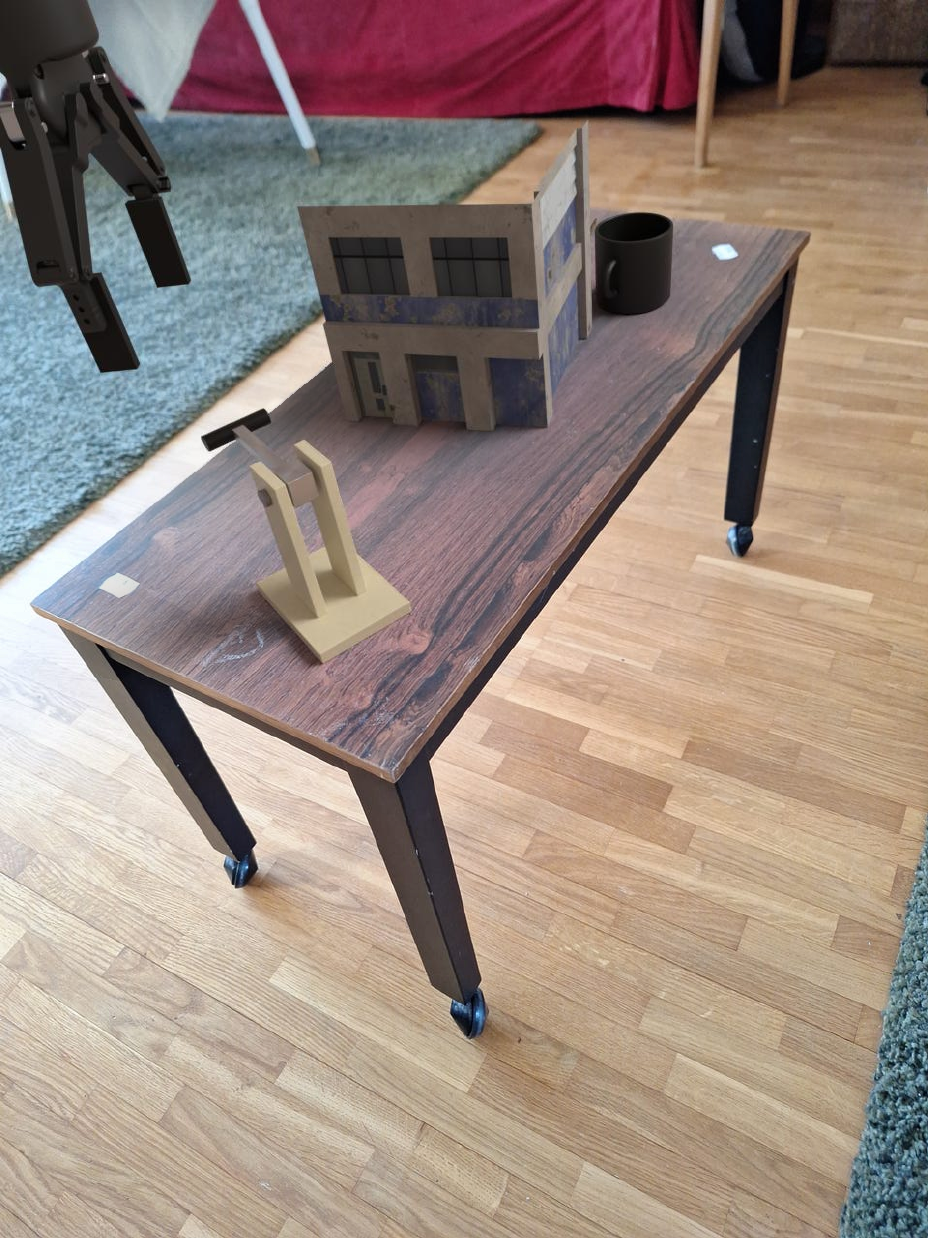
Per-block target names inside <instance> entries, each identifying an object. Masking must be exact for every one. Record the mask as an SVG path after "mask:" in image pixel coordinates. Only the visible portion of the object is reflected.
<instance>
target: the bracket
mask: <svg viewBox="0 0 928 1238" xmlns="http://www.w3.org/2000/svg"><path fill="white" fill-rule="evenodd" d="M293 447H294V450H295V453H296V456H297V457H296V458H297V459H298V460H299V461H300V462H302V463H303V464H304V465H305V466H306V467H307V468H309V469H310V470H311V471H312V472H313V476H314V479H315V482H316V486H317V489H318V492H319V497H317V498H316V499H314V500H312V501H310V502H311V505H312V508H313V509H312V510H313V511H314V516H315V519H316V521H317V524H318V528H319V531H320V535H321V537H322V541H323V544H324V546H323V547H321V548H319V549H317V550H315V551H313V552H311V553H309V552H308V548H307V545H306V542H305V539H304V536H303V533H302V531H301V527H300V524H299V522H298V518H297V515H296V513H295V510H294V509H295V508H294V506H293V505H292V503H291V500H290V497H289V494H288V491H287V488H286V485H285V484H284V483H283V482H282V481H281V480H280V479H279V478H278V477H277V476H276V475H275V474H273V473H272V472H271V471H270V470H269V469H268V468H267V467H266V466H265V465H264V464H262V463H261V462H260V461H257V462H255V463H252V464H250V465H248V466H249V470H250V474H251V475H252V479H253V481H254V484H255V487H256V490H257V497H258V499H259V500H260V502H261V504H262V507H263V509H264V512H265V515H266V517H267V521H268V524H269V526H270V530H271V532H272V534H273V535H272V536H273V537H274V541H275V543H276V546H277V548H278V551H279V554H280V557H281V560H282V563H283V565H284V567H283V568H281V569H279V570H277V571H275V572H274V573H271V574H270V575H268V576H266V577H265V578H262V579H261V580H259V581H257V582H256V583H255V584H256V587H257V590H258V592H259V593H260V595H261V596H262V597H263V598H264V599H265V600H266V602H267V603H268V604H269V605H270V606H271V607H272V608H273V609H274V610H275V612H276V614H278V615H279V617H281V619H282V620H283V621H284V622H285V623H286V624H287V625H288V627H290V629H291V630H292V631H293V632H294V633H295V634H296V635H297V636H298V638H299V639H300V640H301V641H302V642H303V643H304V644H305V646H306V647H307V648H308V649H309V650H310V651H311V652H312V653H313V655H314V656H315V657H316V659H318V661H320V662H321V664H323V665H324V664H325V663H327V662H329V661H330V660H333V659H334V658H335V657H337V656H339V655H341V654H342V653H344V652H346V651H348V650H349V649H351V648H352V647H354V646H356V645H358V644H360V643H361V642H363V641H364V640H366V639H368V638H370V637H372V636H373V635H375V634H376V633H378V632H380V631H381V630H383V629H385V628H386V627H389V626H390V625H391V624H393V623H395V622H396V621H399V620H401V619H402V618H404V617H405V616H407V615H408V614H410V613H412V607H411V601H409V600H408V599H407V598H406V597H405V596H403V594H401V592H400V591H398V589H396V588H395V587H394V586H393V585H392V584H391V583H390V582H388V580H386V579H385V578H384V577H383V576H382V575H381V574H380V573H379V572H378V571H376V570H375V568H373V566H371V565H370V564H369V563H368V562H367V561H366V560H365V559H363V558H362V557H361V556H360V555H359V554H358V553H357V549H356V547H355V543H354V540H353V535H352V532H351V529H350V525H349V522H348V518H347V515H346V510H345V507H344V503H343V500H342V496H341V492H340V489H339V486H338V482H337V477H336V475H335V472H334V467H333V463H332V461H331V460H329V458H328V457H326V456H324V455H323V453H321V452H320V451H318V450H317V449H316V448H315V447H314V446H313V445H311V444H310V443H309V442H308V441H306V440H305V439H303V440H301V441H299V442H297V443H295V444H293Z"/></svg>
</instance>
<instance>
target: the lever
mask: <svg viewBox="0 0 928 1238" xmlns="http://www.w3.org/2000/svg"><path fill="white" fill-rule="evenodd" d="M271 424H272V420H271V416H270V414H269V413H268V411H267V410H266V409H265V408H260V409H258V410H256V411H254V412H251V413H249V414H247V415H245V416H242V417H240V418H238V419H236V420H234V421H232V422H230V423H227V424H224V425H223V426H220V427H219V428H216V429H214V430H212V431H209V432H207V433H205V434H203V435H201V436H200V439H201V442H202V444H203V446H204V448H205V449H206V451H207V452H212V451H215V450H217V449H219V448H222V447H223V446H225V445H228V444H230V443H232V442H234V441H236V442H238V444H240V445H241V447H243V448H244V449H245V450H246V451H247V452H248V453H249V454H251V455H252V456H253V457H254V458H255V459H256V460H257V462H259V461H260V462H261V463H262V464H264V465H265V466H266V467H267V468H268V469H269V470H270V471H271V472H272V473H273V474H275V475H276V476H277V477H278V478H279V479H280V480H281V481H282V482H283V483H284V484H285V485H286V488H287V491H288V494H289V497H290V500H291V503H292V506H293V508H294V509H298V508H300V507H301V506H304V505H306V504H308V503H310V502H311V501H312V500H314V499H316V498H317V497H319V492H318V489H317V486H316V482H315V479H314V476H313V472H312V471H311V470H310V469H309V468H307V467H306V466H305V465H304V464H303V463H302V462H300V461H299V460H298V457H293V458H291V459H289V460H287V461H285V460H284V459H283V458H281V457H280V456H279V455H278V454H277V453H276V452H275V451H274V450H273V449H271V448H270V447H269V446H268V445H267V444H266V443H264V442H263V441H262V440H261V439H260V438H259V437H257V435H255V434H254V433H253V432H255V431H258V430H260V429H262V428H264V427H267V426H269V425H271Z"/></svg>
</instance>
